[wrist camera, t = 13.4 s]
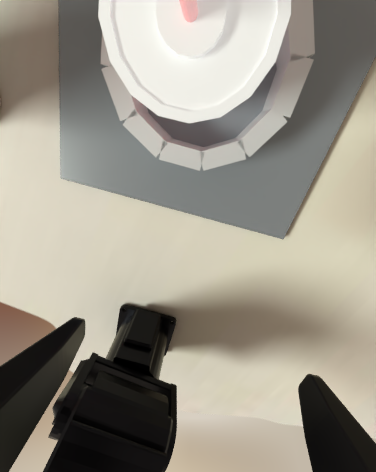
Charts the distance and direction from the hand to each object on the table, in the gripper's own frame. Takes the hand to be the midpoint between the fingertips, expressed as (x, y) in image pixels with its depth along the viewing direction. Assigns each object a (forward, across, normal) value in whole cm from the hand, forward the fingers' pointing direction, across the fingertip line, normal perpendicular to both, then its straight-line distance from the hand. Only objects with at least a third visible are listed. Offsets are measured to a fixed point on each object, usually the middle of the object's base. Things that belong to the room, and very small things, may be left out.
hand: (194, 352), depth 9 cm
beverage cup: (+13, +3, -11) cm, 17 cm away
